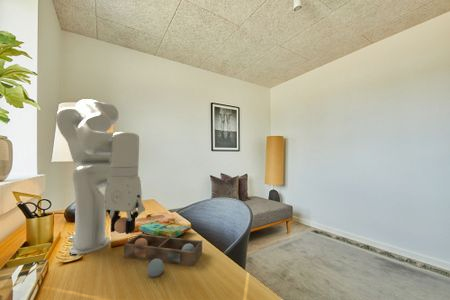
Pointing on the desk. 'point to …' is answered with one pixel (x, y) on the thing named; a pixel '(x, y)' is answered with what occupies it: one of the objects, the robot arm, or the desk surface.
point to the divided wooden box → (164, 250)
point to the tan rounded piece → (141, 242)
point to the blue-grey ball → (188, 247)
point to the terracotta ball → (121, 225)
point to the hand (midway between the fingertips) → (122, 230)
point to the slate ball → (155, 267)
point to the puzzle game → (164, 228)
